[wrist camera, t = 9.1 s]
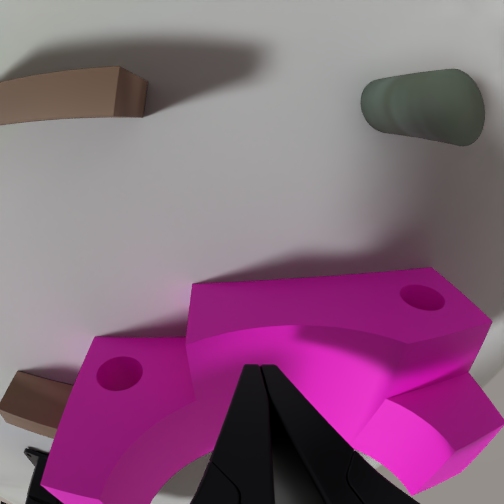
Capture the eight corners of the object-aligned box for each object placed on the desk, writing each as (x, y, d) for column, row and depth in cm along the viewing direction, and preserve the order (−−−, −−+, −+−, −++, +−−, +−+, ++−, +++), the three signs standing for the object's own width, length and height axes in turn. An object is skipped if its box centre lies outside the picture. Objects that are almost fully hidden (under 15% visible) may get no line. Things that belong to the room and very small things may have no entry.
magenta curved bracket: (430, 266, 12) (541, 371, 5) (398, 367, 15) (460, 472, 8) (80, 285, 11) (-7, 437, 4) (117, 391, 13) (90, 522, 7)
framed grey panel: (308, 428, 16) (324, 484, 12) (-61, 363, 12) (-84, 396, 8) (410, 88, 9) (487, 86, 5) (-112, 108, 5) (-155, 120, 1)
